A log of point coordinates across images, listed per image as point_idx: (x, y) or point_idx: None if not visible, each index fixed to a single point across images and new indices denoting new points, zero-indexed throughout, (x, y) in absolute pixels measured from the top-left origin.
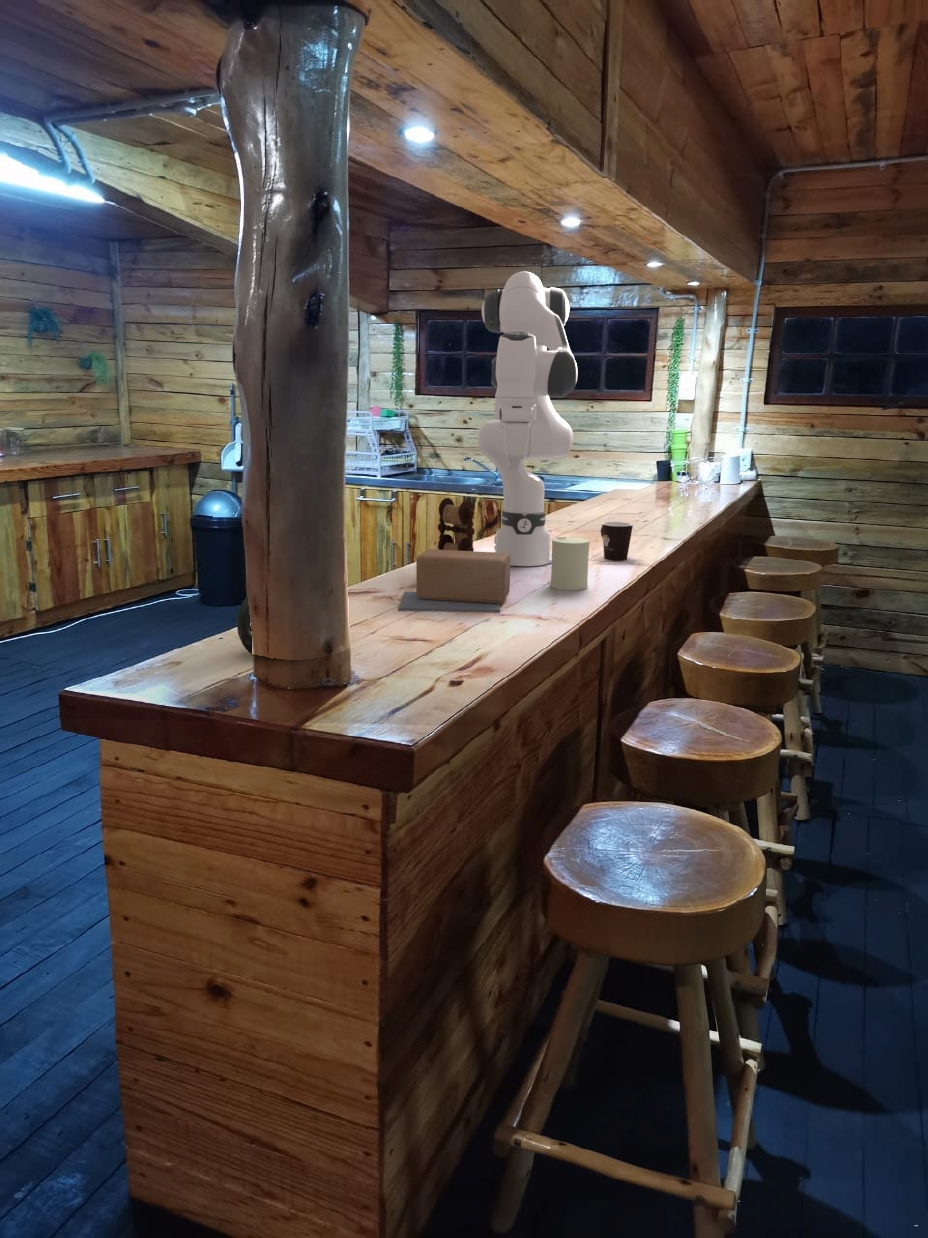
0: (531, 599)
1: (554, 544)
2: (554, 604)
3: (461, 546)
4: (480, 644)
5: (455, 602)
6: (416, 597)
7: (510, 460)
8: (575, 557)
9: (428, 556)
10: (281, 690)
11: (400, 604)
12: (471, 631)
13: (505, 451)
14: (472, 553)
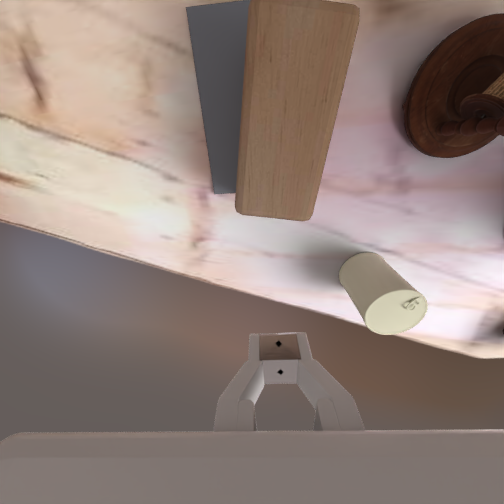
0: (289, 230)
1: (385, 289)
2: (266, 255)
3: (483, 103)
4: (62, 177)
5: None
6: None
7: (218, 410)
8: (356, 303)
9: (254, 30)
10: None
11: (212, 6)
12: (111, 161)
13: (476, 441)
14: (297, 148)
